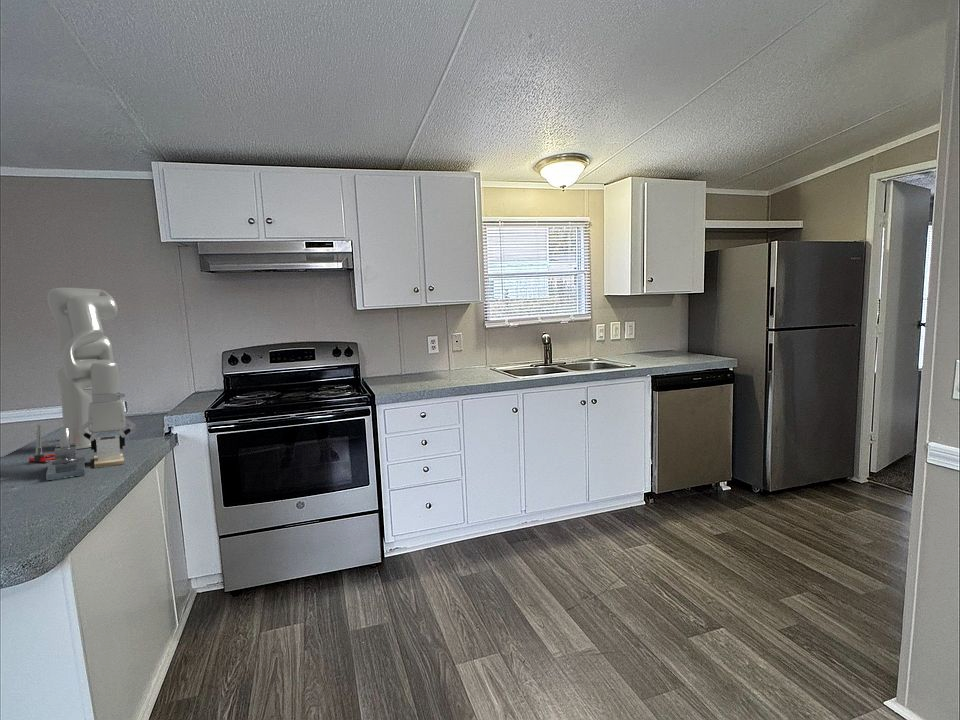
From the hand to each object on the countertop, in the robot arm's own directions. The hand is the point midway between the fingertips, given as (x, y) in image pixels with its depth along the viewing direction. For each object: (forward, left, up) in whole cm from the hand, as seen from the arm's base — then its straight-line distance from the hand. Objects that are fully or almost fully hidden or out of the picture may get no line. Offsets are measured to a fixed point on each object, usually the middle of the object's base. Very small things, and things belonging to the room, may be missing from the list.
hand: (108, 449), depth 171 cm
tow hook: (-15, -16, -4) cm, 22 cm away
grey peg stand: (+6, -11, -4) cm, 13 cm away
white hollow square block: (0, 0, -3) cm, 3 cm away
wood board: (0, 0, -4) cm, 4 cm away
